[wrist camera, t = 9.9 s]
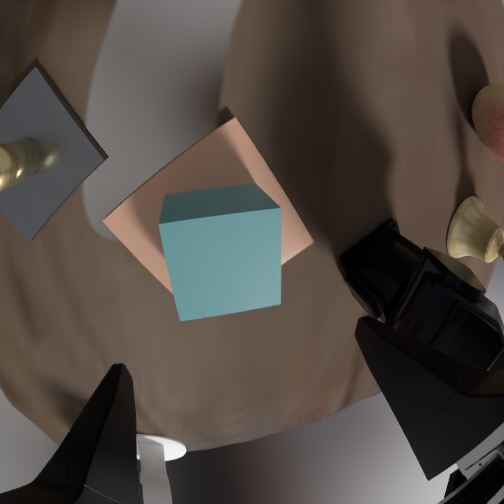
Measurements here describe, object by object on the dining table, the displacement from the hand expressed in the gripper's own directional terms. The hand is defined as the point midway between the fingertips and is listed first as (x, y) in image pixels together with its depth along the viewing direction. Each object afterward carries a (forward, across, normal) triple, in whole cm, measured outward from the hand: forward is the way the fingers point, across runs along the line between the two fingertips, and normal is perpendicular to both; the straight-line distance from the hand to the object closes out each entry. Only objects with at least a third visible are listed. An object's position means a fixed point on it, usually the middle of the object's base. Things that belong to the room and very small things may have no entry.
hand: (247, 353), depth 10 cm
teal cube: (+11, 0, 0) cm, 11 cm away
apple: (+12, -30, -10) cm, 34 cm away
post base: (+12, +12, -8) cm, 19 cm away
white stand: (+12, +15, +34) cm, 39 cm away
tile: (+12, 0, 0) cm, 12 cm away
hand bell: (+12, -30, +4) cm, 32 cm away
